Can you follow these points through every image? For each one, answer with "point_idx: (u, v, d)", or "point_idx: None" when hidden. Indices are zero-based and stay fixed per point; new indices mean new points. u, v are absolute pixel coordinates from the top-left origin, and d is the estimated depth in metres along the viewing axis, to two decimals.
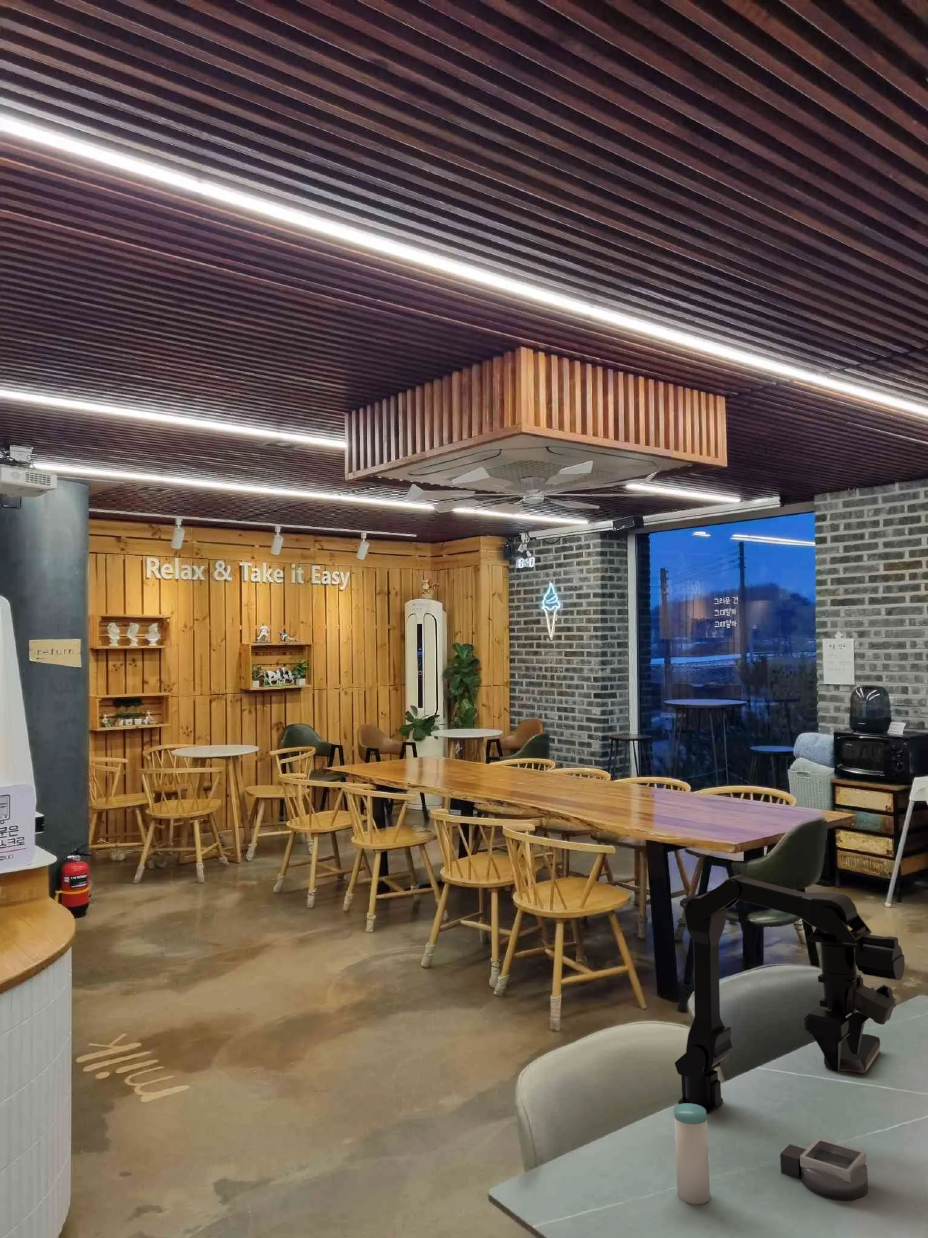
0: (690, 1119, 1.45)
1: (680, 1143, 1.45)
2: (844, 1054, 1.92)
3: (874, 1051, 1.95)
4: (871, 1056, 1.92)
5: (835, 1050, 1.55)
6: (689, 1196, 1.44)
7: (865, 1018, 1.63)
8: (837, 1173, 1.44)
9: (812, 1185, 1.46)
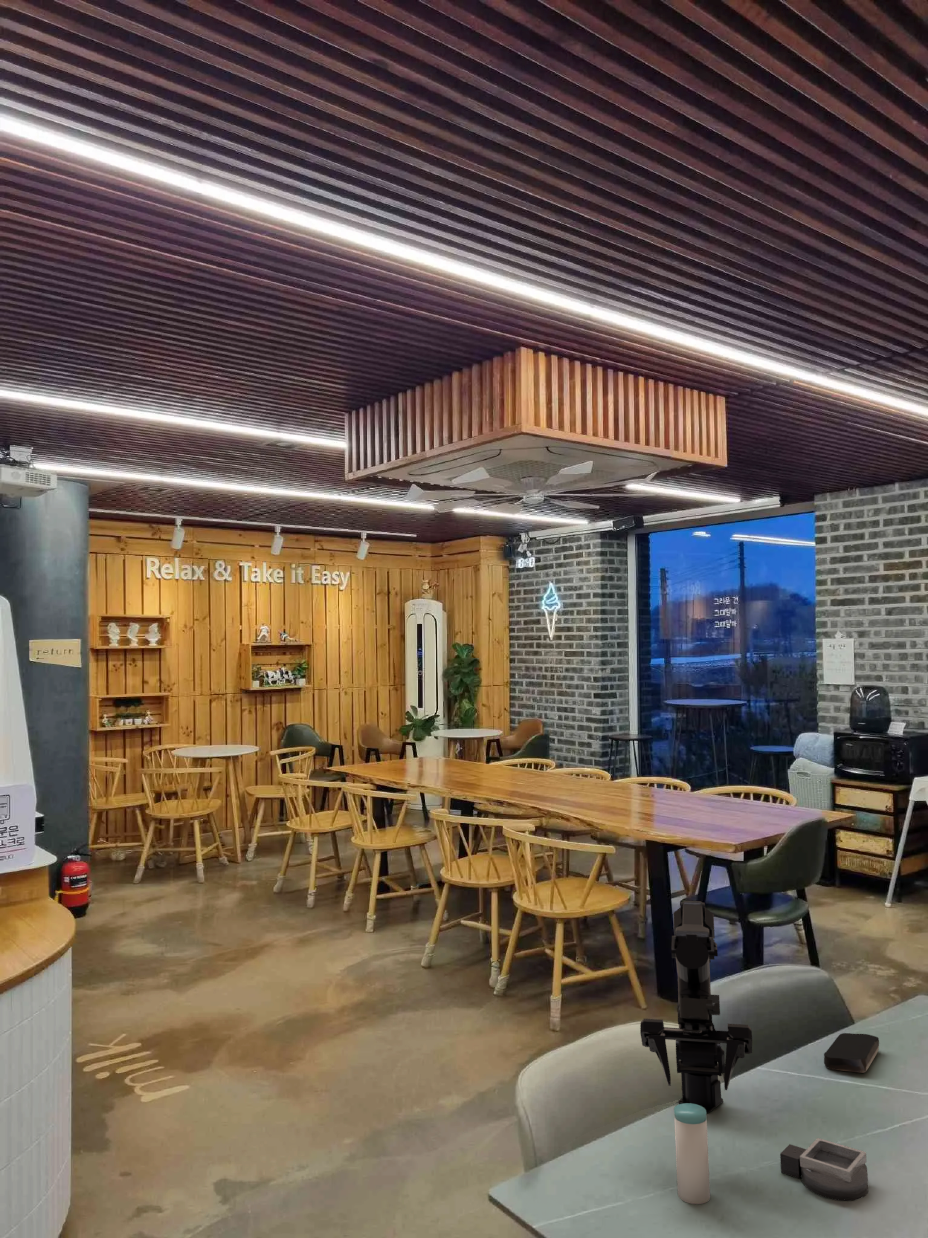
0: (690, 1119, 1.45)
1: (680, 1143, 1.45)
2: (844, 1054, 1.92)
3: (873, 1051, 1.95)
4: (871, 1056, 1.92)
5: (661, 1059, 1.58)
6: (689, 1196, 1.44)
7: (726, 1045, 1.56)
8: (837, 1173, 1.44)
9: (812, 1185, 1.46)
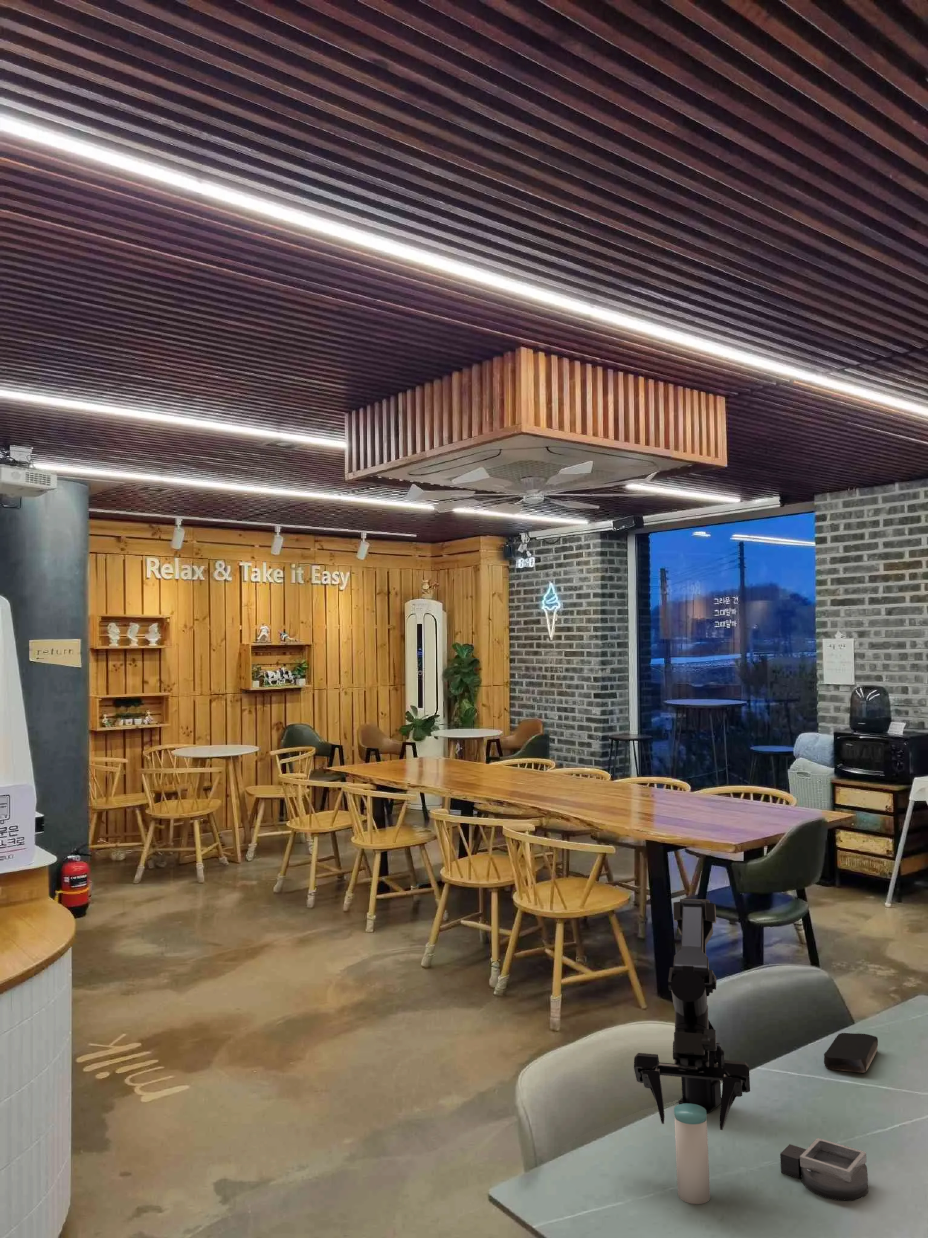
0: (690, 1119, 1.44)
1: (680, 1143, 1.45)
2: (844, 1054, 1.92)
3: (873, 1051, 1.95)
4: (870, 1056, 1.93)
5: None
6: (689, 1196, 1.44)
7: None
8: (837, 1173, 1.44)
9: (812, 1185, 1.46)
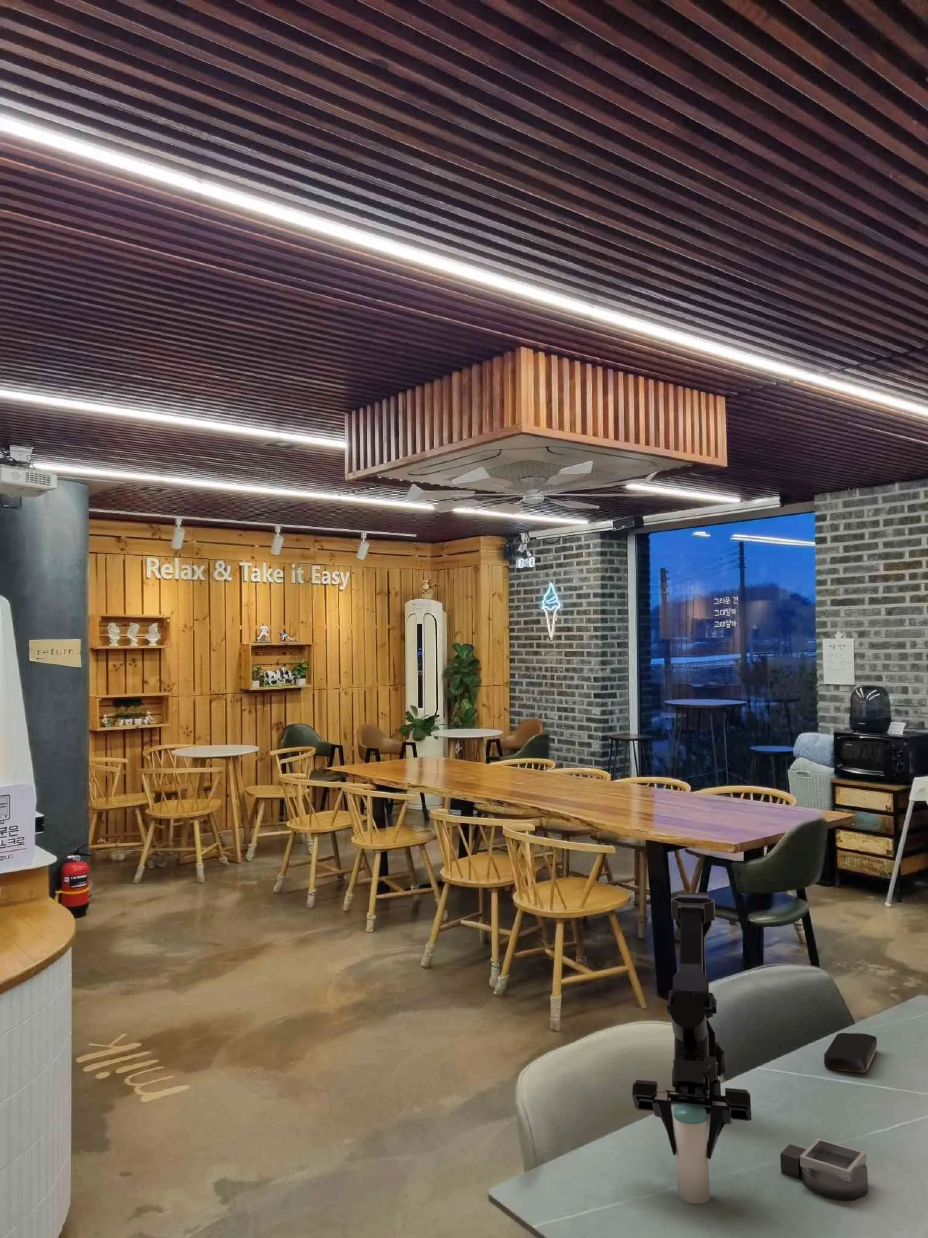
0: (690, 1119, 1.44)
1: (680, 1143, 1.45)
2: (844, 1054, 1.92)
3: (872, 1050, 1.95)
4: (870, 1055, 1.93)
5: None
6: (689, 1196, 1.44)
7: (710, 1110, 1.48)
8: (837, 1173, 1.44)
9: (812, 1185, 1.46)
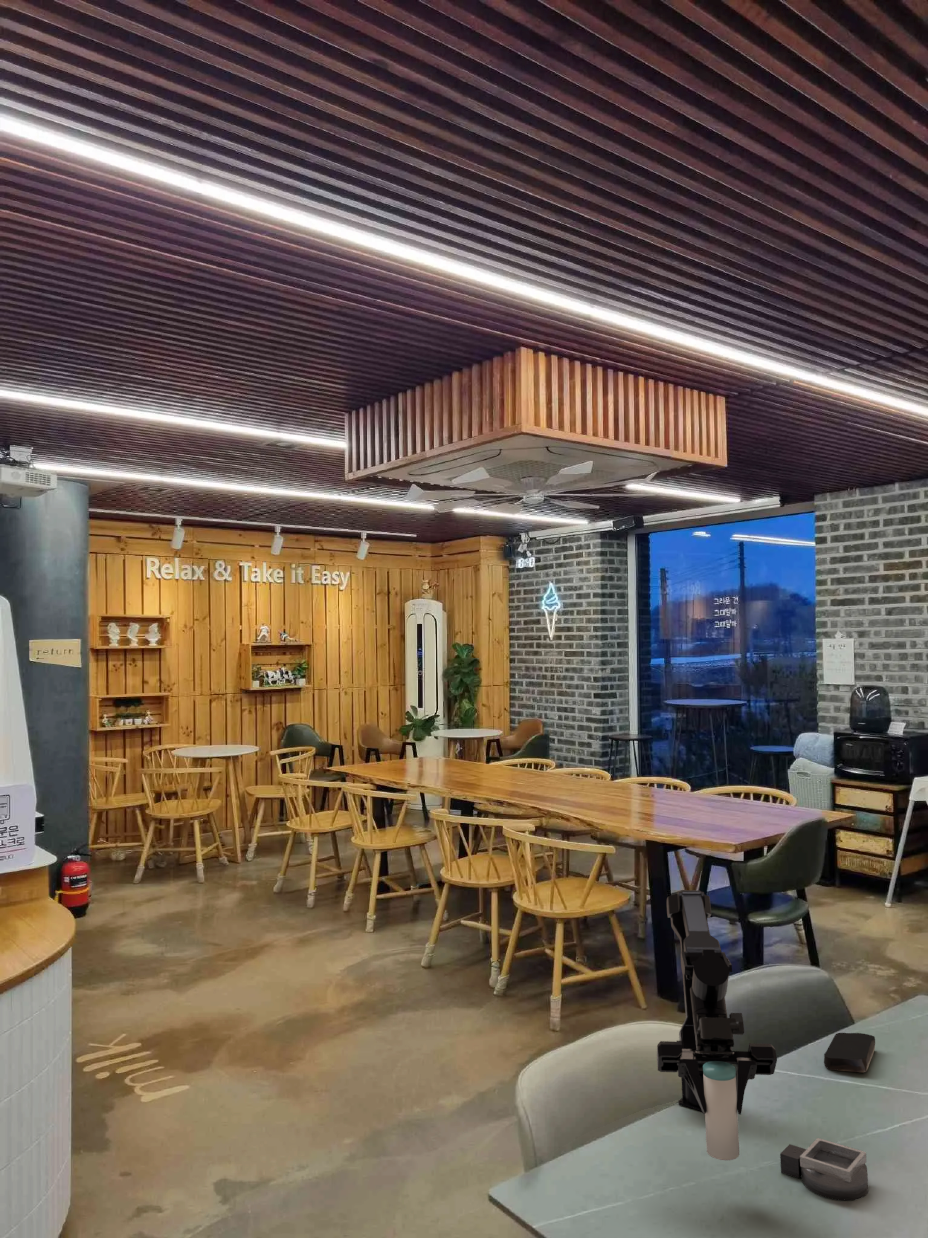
0: (722, 1076, 1.44)
1: (711, 1101, 1.44)
2: (844, 1054, 1.92)
3: (871, 1050, 1.95)
4: (870, 1055, 1.93)
5: (693, 1084, 1.48)
6: (721, 1153, 1.43)
7: (738, 1066, 1.48)
8: (837, 1173, 1.44)
9: (812, 1185, 1.46)
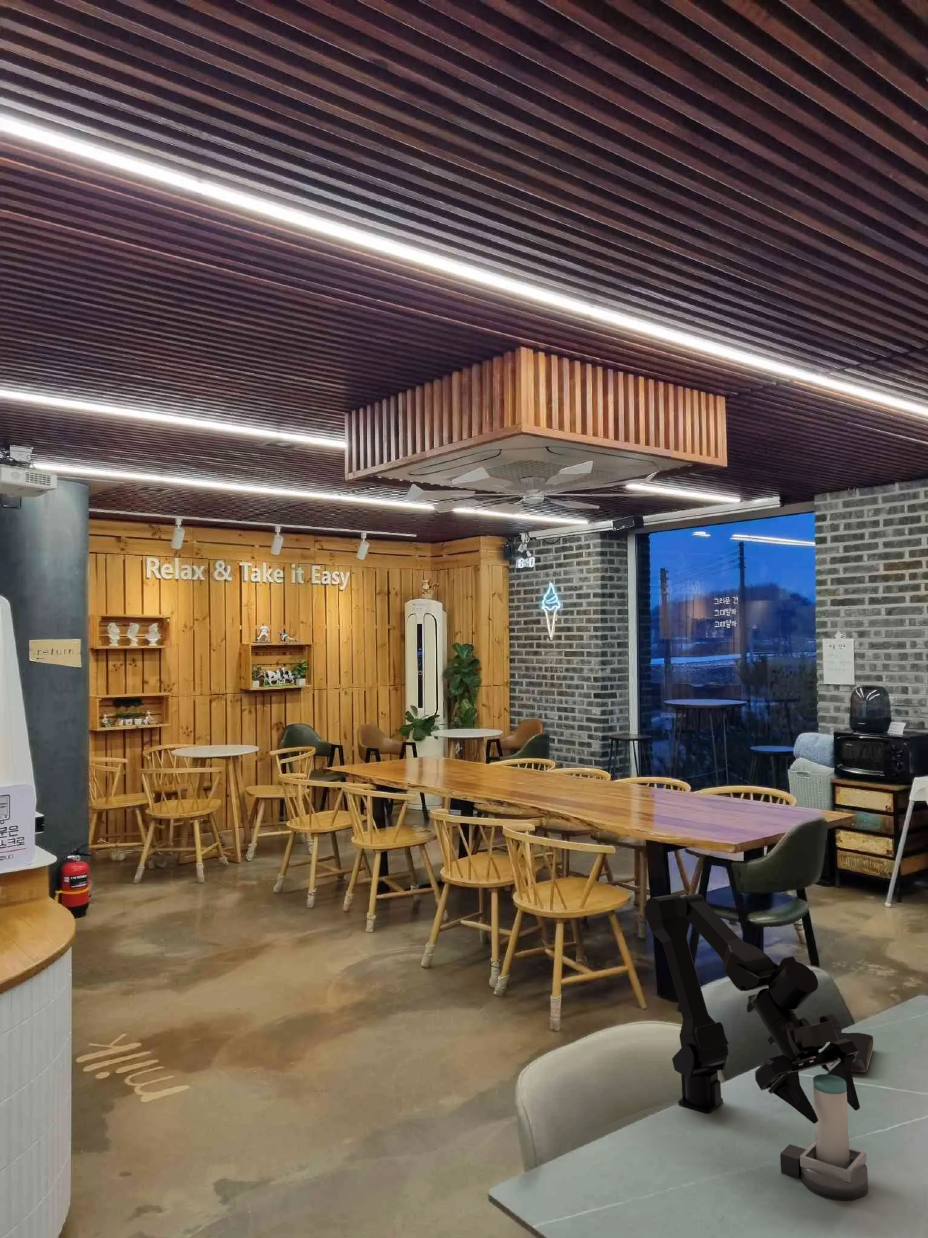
0: (842, 1088, 1.47)
1: (833, 1116, 1.47)
2: None
3: (870, 1050, 1.96)
4: (869, 1055, 1.93)
5: (798, 1097, 1.48)
6: (842, 1165, 1.46)
7: (843, 1064, 1.53)
8: (837, 1173, 1.44)
9: (812, 1185, 1.46)
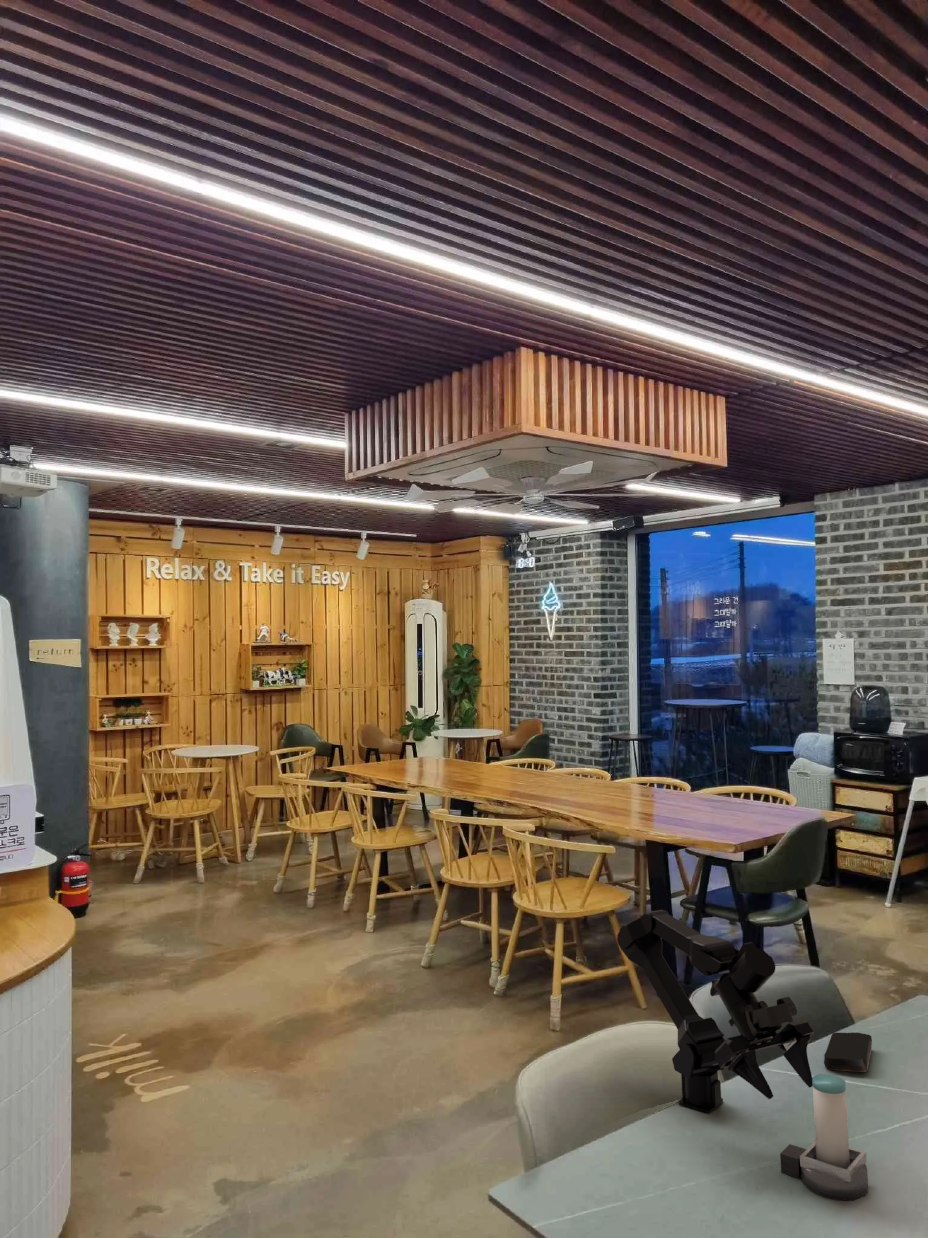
0: (841, 1088, 1.47)
1: (832, 1115, 1.47)
2: (844, 1054, 1.92)
3: (869, 1049, 1.96)
4: (868, 1055, 1.93)
5: (755, 1074, 1.56)
6: (842, 1165, 1.46)
7: (798, 1043, 1.62)
8: (837, 1173, 1.44)
9: (812, 1185, 1.46)
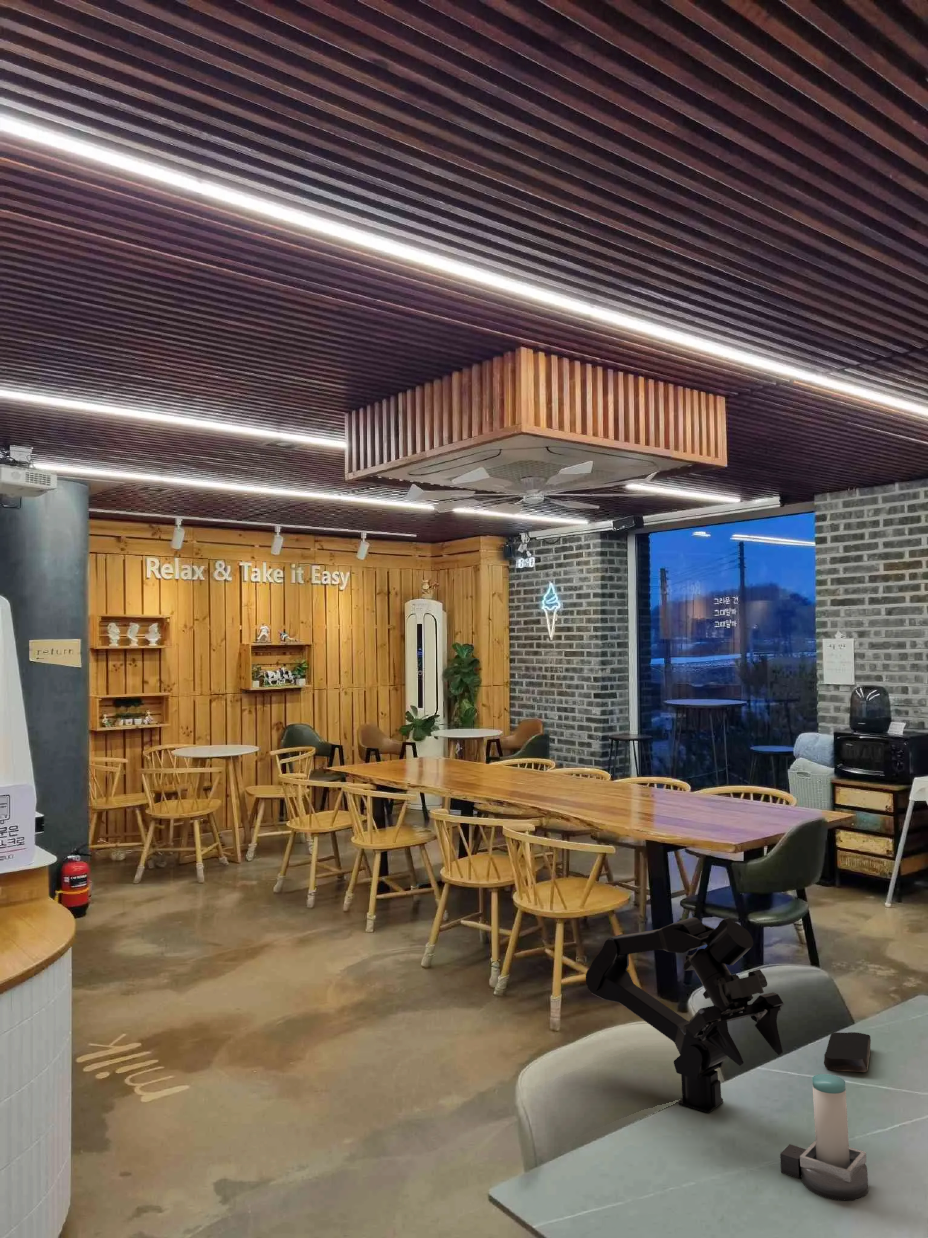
0: (841, 1087, 1.47)
1: (832, 1115, 1.47)
2: (844, 1054, 1.91)
3: (869, 1049, 1.96)
4: (868, 1054, 1.93)
5: (726, 1042, 1.64)
6: (842, 1164, 1.46)
7: (768, 1014, 1.70)
8: (837, 1173, 1.44)
9: (812, 1185, 1.46)
